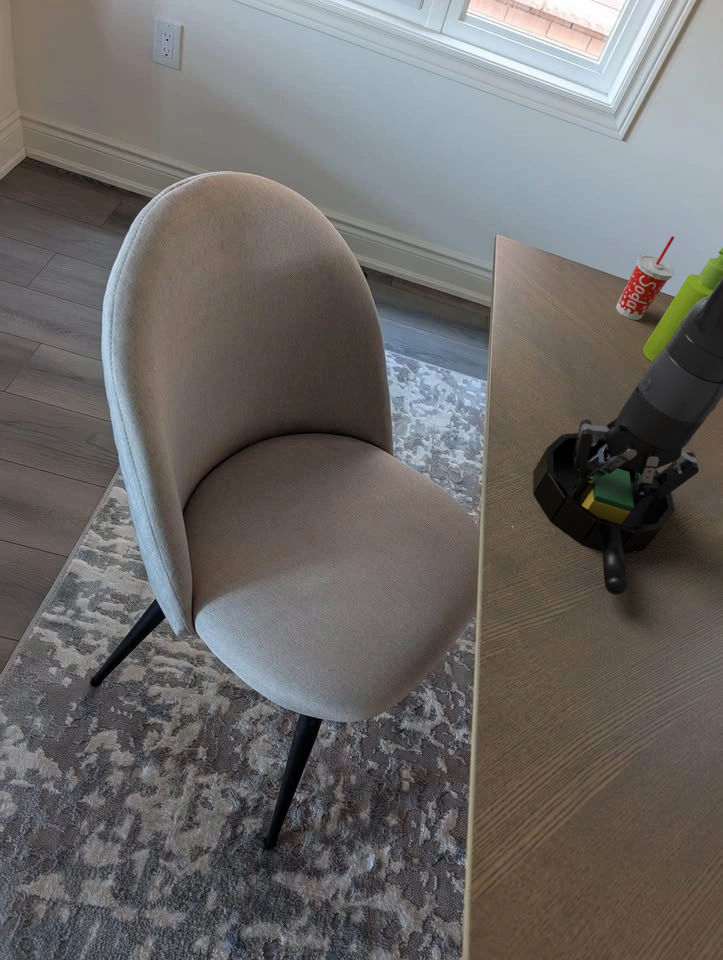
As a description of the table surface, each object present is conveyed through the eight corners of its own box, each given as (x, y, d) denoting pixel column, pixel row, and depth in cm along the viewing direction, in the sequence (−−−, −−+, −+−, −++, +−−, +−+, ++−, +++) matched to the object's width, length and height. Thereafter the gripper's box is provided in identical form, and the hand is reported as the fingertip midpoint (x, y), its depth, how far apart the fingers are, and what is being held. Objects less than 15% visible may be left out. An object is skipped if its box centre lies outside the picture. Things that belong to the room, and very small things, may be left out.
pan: (533, 441, 96) (546, 417, 93) (648, 477, 96) (664, 454, 94) (532, 587, 78) (549, 564, 76) (672, 630, 79) (694, 608, 76)
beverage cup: (605, 305, 127) (647, 229, 117) (623, 298, 130) (666, 224, 121) (634, 326, 124) (680, 250, 114) (652, 317, 128) (698, 243, 118)
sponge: (578, 483, 91) (593, 460, 88) (613, 494, 91) (629, 471, 89) (580, 518, 87) (596, 495, 84) (617, 530, 87) (634, 507, 84)
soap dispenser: (635, 356, 117) (708, 240, 103) (648, 340, 122) (719, 228, 108) (669, 376, 116) (747, 261, 102) (681, 359, 120) (757, 247, 107)
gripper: (733, 394, 80) (651, 500, 92) (607, 354, 79) (540, 466, 91) (747, 439, 75) (658, 545, 87) (613, 396, 74) (541, 509, 86)
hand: (598, 504), depth 89 cm, fingers closed on sponge, 4 cm apart
